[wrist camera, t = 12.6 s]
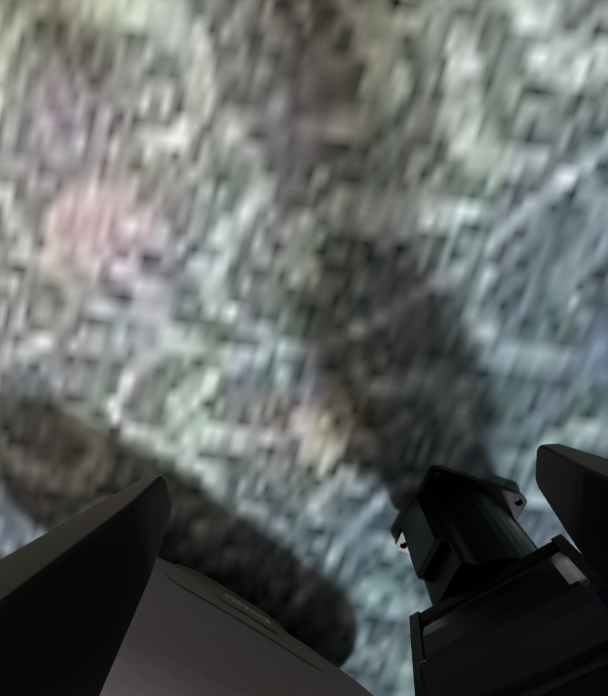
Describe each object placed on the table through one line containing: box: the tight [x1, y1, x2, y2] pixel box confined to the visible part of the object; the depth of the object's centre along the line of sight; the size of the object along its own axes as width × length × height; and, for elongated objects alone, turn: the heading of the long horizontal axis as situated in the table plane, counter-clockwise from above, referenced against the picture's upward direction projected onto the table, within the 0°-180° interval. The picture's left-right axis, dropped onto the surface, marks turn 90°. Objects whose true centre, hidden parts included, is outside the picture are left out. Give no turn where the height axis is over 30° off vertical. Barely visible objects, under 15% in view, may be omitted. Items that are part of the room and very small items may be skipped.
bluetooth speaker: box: [100, 557, 373, 696], centre depth 21 cm, size 23×9×10 cm, turn 53°
